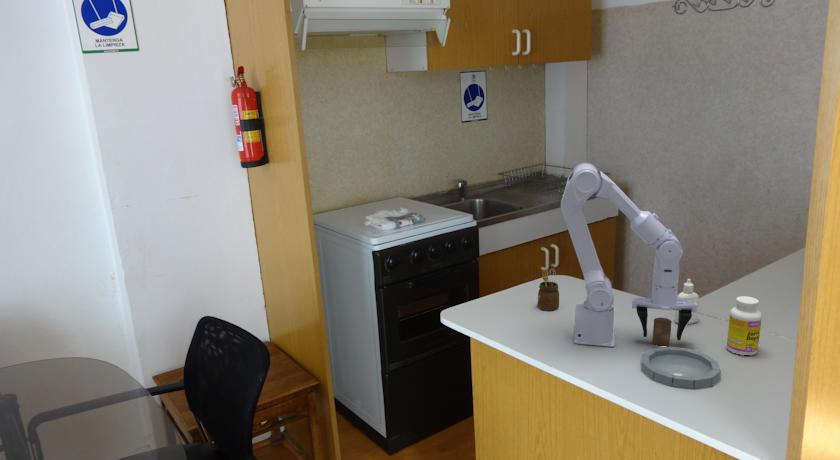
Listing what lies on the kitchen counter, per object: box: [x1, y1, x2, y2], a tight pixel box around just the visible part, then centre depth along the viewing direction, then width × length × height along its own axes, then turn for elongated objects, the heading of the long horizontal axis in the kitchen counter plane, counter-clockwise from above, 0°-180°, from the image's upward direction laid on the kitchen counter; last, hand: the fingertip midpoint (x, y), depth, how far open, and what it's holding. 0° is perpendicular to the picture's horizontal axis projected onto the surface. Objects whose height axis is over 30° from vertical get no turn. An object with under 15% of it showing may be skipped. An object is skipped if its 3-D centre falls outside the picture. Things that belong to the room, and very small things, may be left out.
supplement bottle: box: [726, 295, 763, 356], centre depth 150 cm, size 7×7×13 cm
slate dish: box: [640, 346, 722, 390], centre depth 143 cm, size 16×16×2 cm
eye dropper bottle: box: [674, 278, 700, 325], centre depth 167 cm, size 4×6×12 cm
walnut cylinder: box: [652, 317, 672, 347], centre depth 156 cm, size 4×4×6 cm
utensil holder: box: [537, 269, 560, 312], centre depth 180 cm, size 6×6×12 cm
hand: (661, 336), depth 156 cm, fingers open, 7 cm apart
